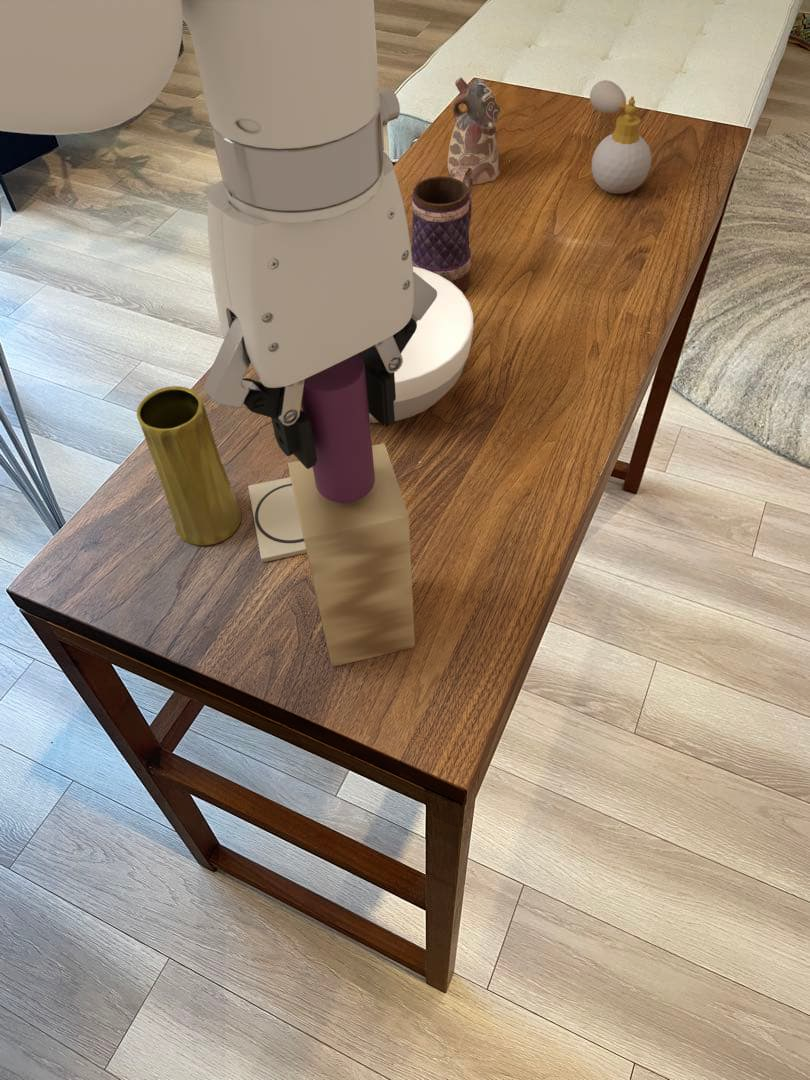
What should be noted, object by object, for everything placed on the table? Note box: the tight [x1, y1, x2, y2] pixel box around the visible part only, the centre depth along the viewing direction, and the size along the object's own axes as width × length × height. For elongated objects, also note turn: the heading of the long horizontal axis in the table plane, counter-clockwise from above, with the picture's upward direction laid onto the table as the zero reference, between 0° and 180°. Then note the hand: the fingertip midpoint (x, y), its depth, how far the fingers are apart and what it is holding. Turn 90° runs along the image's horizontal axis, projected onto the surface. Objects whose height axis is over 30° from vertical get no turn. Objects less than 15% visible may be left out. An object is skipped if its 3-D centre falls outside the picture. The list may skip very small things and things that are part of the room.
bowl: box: [369, 267, 475, 424], centre depth 84 cm, size 19×19×9 cm
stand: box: [287, 442, 416, 668], centre depth 63 cm, size 7×7×17 cm
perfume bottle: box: [589, 79, 652, 195], centre depth 106 cm, size 8×10×12 cm
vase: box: [136, 385, 242, 547], centre depth 72 cm, size 6×6×14 cm
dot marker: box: [301, 354, 375, 503], centre depth 52 cm, size 4×4×11 cm
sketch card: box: [247, 476, 307, 563], centre depth 77 cm, size 11×9×1 cm
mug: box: [411, 164, 474, 293], centre depth 95 cm, size 10×7×12 cm
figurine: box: [447, 77, 501, 186], centre depth 109 cm, size 7×7×12 cm
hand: (338, 431), depth 52 cm, fingers open, 5 cm apart
